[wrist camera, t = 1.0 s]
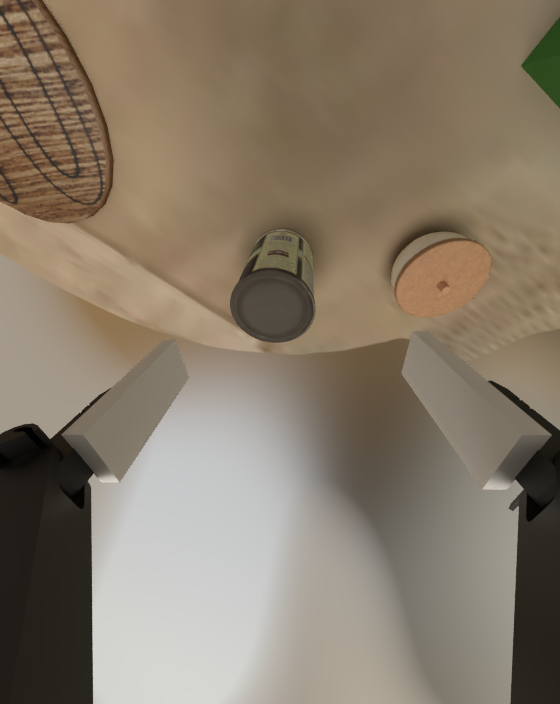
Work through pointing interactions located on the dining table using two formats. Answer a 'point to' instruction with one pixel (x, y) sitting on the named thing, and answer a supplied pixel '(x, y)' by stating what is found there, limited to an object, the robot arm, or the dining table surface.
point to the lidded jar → (439, 273)
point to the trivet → (48, 121)
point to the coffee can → (276, 288)
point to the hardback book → (547, 63)
